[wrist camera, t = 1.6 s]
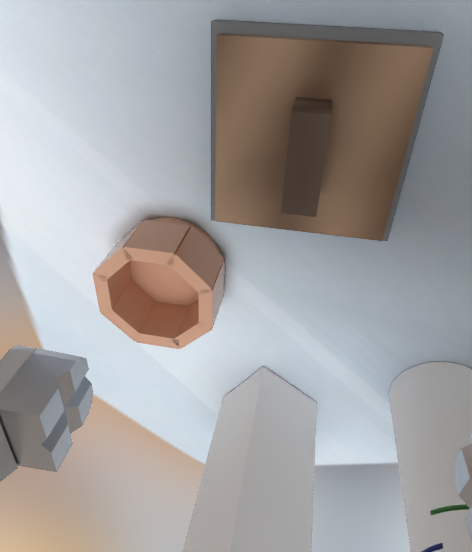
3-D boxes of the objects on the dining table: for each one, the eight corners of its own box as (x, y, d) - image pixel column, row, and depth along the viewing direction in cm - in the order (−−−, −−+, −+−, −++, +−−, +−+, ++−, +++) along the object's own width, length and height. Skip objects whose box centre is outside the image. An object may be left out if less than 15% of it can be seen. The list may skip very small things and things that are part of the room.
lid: (429, 45, 20) (448, 57, 17) (380, 232, 26) (387, 268, 22) (220, 33, 21) (201, 41, 18) (218, 213, 27) (203, 245, 24)
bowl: (228, 222, 28) (212, 258, 25) (225, 312, 33) (212, 354, 29) (117, 209, 29) (86, 242, 26) (129, 298, 34) (104, 337, 30)
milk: (263, 364, 35) (193, 754, 17) (318, 402, 37) (306, 801, 19) (221, 397, 39) (126, 754, 21) (273, 431, 40) (225, 794, 22)
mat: (439, 32, 20) (444, 33, 20) (385, 233, 27) (387, 240, 26) (215, 19, 22) (211, 21, 21) (214, 213, 28) (210, 220, 27)
